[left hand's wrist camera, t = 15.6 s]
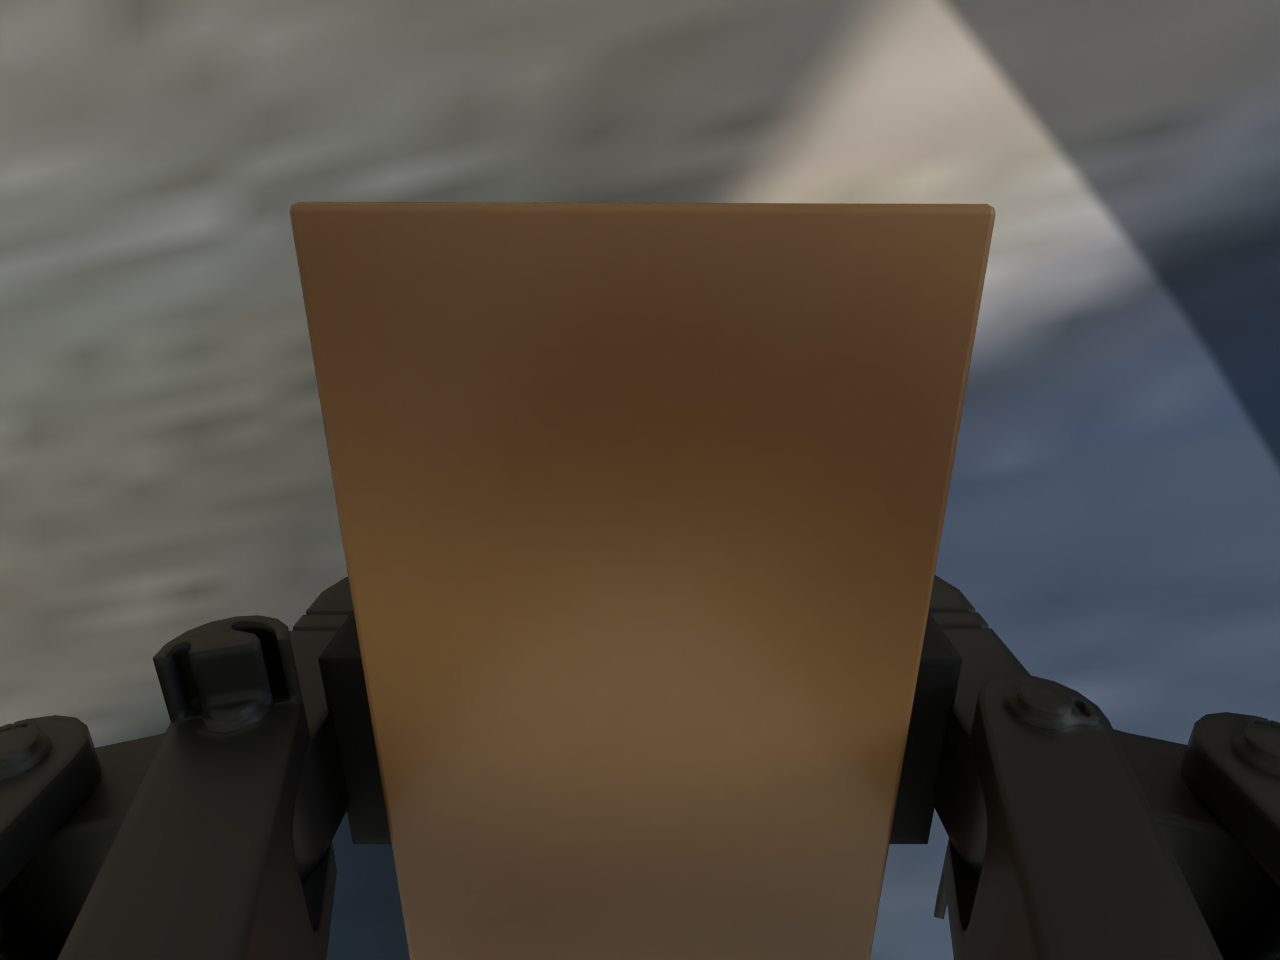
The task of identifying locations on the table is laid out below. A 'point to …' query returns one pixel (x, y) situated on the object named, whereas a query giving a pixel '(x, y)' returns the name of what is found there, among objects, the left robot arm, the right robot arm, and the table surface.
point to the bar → (641, 554)
